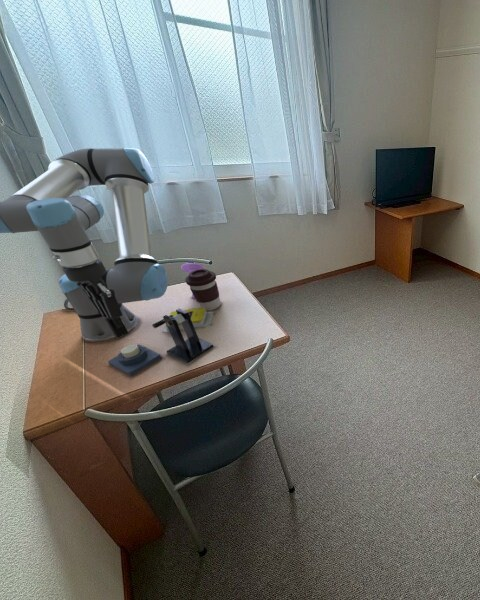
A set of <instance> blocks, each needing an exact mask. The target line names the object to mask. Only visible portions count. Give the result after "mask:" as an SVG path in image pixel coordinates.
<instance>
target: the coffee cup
mask: <svg viewBox="0 0 480 600" xmlns="http://www.w3.org/2000/svg"><path fill="white" fill-rule="evenodd" d="M184 279H185V280H184V281H185V283H186V285H187V286H189V289H190V292H191V294H193V296H194V298H193V299H194V300H195V301H196V303H197V304H198V308H202V307H204V308H205V310H206V311H211V310H216V309H218V308H219V307H220V306H221V299H220V291H219V287H218V284H217V283H218V282H217V281H216V279H217V275H216V272H214V271H211V270H209V269H206V268H204V269H199V270H195V271H192V272H191V273H188V275H187V276H186V277H185V278H184Z"/></svg>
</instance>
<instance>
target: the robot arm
mask: <svg viewBox="0 0 480 600" xmlns="http://www.w3.org/2000/svg"><path fill="white" fill-rule="evenodd" d="M154 183H155V174H154V171H153V168H152V165H150V163H149V161H148V159H147V157H146V155H145V154H144V153H143V152H142V151H141V150H140V149H137V148H135V147H133V148H131V147H120V148H119V147H118V148H116V147H115V148H112V147H111V148H107V147H106V148H105V147H104V148H103V147H102V148H91V147H90V148H81V149H80V148H79V149H77V150H74V151H71V152H67V153H65V154H63V155H61V156H58V157H57V158H56V159H54V160H53V161H51V162H50V163H49V164H48V167H47V170H46V171H44V172H43V173H42V174H40V175H39V176H37V177H36V178H35V179H33V180H32V181H30V182H29V183H28V184H26V185H24V186H23V187H22V188H20V189H19V190H17V191H16V192H15V193H13V194H12V195H11V196H9V197H7V198H5V199H4V200H2V201H1V200H0V234H16V233H17V234H18V233H28V232H29V233H30V232H39V233H40V235H41V236H42V238H43V239H44V241H45V243H46V244H47V246H48V247H49V249H50V251H51V252H52V254H53V255H52V256H51V259H52V260H54V261H57V263H58V264H59V266H61V267H62V268H61V270H62V271H63V273H64V274H63V275H61V276H60V278H59V279H58V285H59V287H60V290H61V292H62V294H63V295H64V297H65V299H64V302H63V307H64V309H65V310H67V311H74V312H75V314H76V315H77V316H78V318H79V325H80V334H81V337H82V338H83V340H84V341H85V342H86V343H87V342H88V343H102V342H107V341H111V340H112V341H113V340H115V339H119V338H121V337H124V336H125V335H127V334H129V333H130V332H131V331H133V330H134V329H135V328H136V327H137V326H138V324H139V319H138V317H137V316H136V314H135V313H134V312H132V311H131V310H130V309H129V308H127V307H126V305H124V304H127V303H135V302H140V301H141V302H142V301H151V300H154V299H160V298H162V297H163V296H164V295H165V293H166V292H167V290H168V274H167V271H166V269H165V267H164V266H163V265H162V264H159V261H158V260H157V259H156V258H154V257H153V253H152V247H151V239H150V230H149V229H150V228H149V223H148V215H147V205H146V199H145V198H146V197H145V194H146V193H147V192H149V189H150V188H149V184H154ZM91 186H92V187H93V186H105V187H106V188H107V189H109V190H110V191H111V194H112V204H113V212H114V220H115V229H116V237H117V246H118V254H119V257H118V258H116V259H115V260H114V262H113V264H114V268H111V269H106V267H105V266H104V263H103V262H102V260H101V258H99V257H100V255H99V253H98V252H97V250H96V247H95V246H94V244H93V242H92V241H91V240H90V239H91V238H90V237H89V236H88V233H87V230H88V229H91V228H92V227H93V226H95V224H98V223H99V222H100V220H102V218H103V216H104V215H105V209H104V207H103V205H102V203H101V202H100V201H98V200H97V199H96V198H94V197H93V196H90V195H87V194H82V193H80V194H75V195H73V194H74V193H76V191H81V190H84V189H86V188H87V187H91ZM68 303H69V304H70V305H71V307H70V306H69V305H68Z"/></svg>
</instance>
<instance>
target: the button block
mask: <svg viewBox="0 0 480 600" xmlns="http://www.w3.org/2000/svg"><path fill="white" fill-rule="evenodd" d="M136 345H137V346H138V348H139V350H140V353H139V354H137V355H136V356H134V357H130V358H125V357H124V356H123V354H122V353H121V351H120V352H119V353H118V354H117V355H116V356H114V357H113V358H111V359H108V360H107V363H108V364H109V366H111V367H113V368H115V369H116V370H118V371H120V372H122V373H124V374H125V375H127V376H129V377H133V376H134V375H136V374H138V373H140V372H141V371H143V370H145V369H146V368H148V367H150V366H151V365H153V364H154V363H156V362H158V361H159V360H161V359H162V358H163V357H162V355H161V354H160V353H158V352H156V351H154V350H152V349H151V348H148V347H146V346H144V345H142V344H136Z"/></svg>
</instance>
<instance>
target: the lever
mask: <svg viewBox="0 0 480 600" xmlns="http://www.w3.org/2000/svg"><path fill="white" fill-rule="evenodd" d="M169 316H170V317H172V318H174V319H176V322H177V324H179V323H181V322H183V321H185V319H184V318H183V316H182V315H181V314H177V315H175V316H172V315H170V314H169ZM151 325H152V327H153V329H157V328H159V327H161V326H163V325H166V323H165V320H164V318H163V319H161V320H159V321H156V322H155V323H153V324H151Z"/></svg>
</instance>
